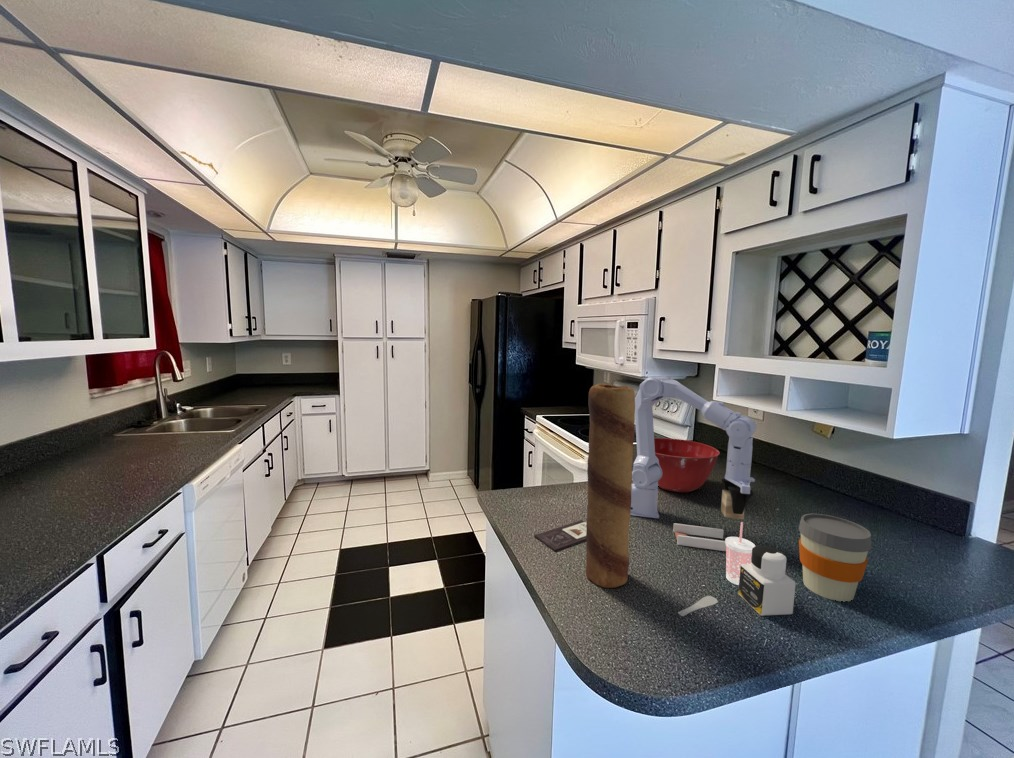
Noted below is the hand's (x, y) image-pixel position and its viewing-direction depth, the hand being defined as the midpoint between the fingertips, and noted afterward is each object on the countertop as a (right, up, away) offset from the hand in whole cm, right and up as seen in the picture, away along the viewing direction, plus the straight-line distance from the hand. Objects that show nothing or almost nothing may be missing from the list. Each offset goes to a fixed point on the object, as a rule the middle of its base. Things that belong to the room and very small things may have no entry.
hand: (734, 509), depth 109 cm
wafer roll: (-40, -11, -16) cm, 44 cm away
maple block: (-1, -2, 0) cm, 2 cm away
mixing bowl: (+1, -5, +43) cm, 43 cm away
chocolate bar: (-45, -9, +3) cm, 46 cm away
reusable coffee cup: (+10, -12, -19) cm, 25 cm away
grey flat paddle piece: (-28, -13, -29) cm, 42 cm away
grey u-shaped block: (-9, -9, +1) cm, 13 cm away
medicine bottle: (-8, -12, -25) cm, 29 cm away
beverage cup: (-9, -11, -16) cm, 22 cm away
